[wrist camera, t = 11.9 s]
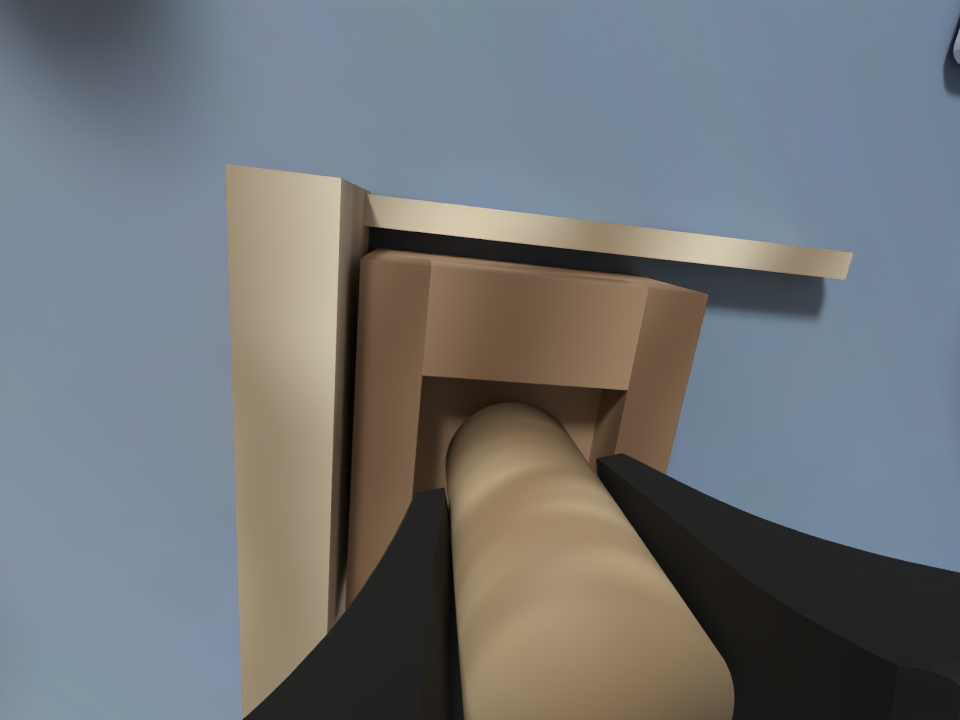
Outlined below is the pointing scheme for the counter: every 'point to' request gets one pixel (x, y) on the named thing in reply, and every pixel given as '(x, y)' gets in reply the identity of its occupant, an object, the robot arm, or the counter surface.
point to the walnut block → (503, 370)
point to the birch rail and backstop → (351, 375)
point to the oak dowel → (563, 588)
